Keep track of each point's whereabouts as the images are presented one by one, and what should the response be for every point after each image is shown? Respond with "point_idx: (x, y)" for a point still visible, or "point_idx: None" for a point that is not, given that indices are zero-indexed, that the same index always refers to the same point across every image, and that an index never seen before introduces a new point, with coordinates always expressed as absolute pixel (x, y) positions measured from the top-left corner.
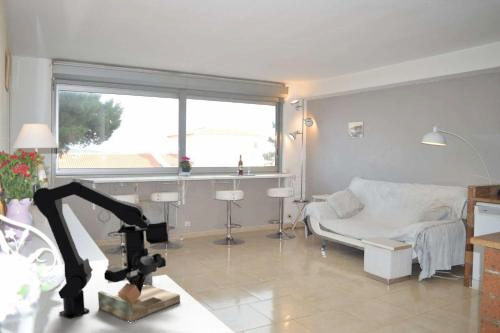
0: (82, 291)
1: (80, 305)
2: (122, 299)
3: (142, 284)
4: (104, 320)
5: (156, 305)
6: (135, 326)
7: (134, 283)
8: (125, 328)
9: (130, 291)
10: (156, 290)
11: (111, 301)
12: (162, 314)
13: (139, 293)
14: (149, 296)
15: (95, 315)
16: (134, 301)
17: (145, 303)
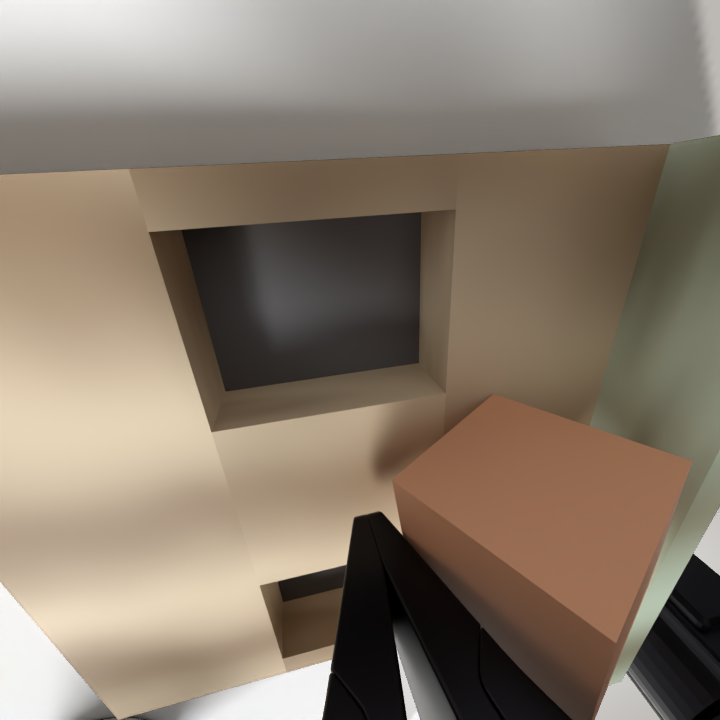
0: (707, 708)
1: (686, 576)
2: None
3: (349, 669)
4: None
5: (302, 162)
6: (652, 18)
7: (557, 714)
8: (708, 78)
9: (655, 511)
10: (89, 579)
11: None
12: (283, 25)
13: (425, 491)
14: (241, 477)
15: None
16: (476, 414)
17: (329, 392)
